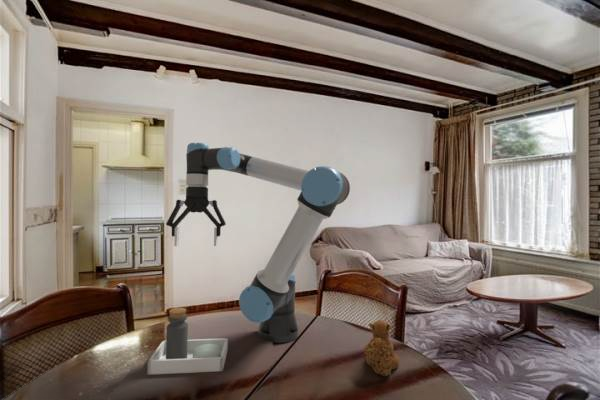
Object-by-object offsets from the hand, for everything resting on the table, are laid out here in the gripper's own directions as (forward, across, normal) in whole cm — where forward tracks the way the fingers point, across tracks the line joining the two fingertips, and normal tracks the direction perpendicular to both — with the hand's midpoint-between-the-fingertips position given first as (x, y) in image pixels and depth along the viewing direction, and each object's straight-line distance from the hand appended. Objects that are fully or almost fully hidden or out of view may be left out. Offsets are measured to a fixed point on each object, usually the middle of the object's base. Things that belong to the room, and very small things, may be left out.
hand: (196, 245), depth 111 cm
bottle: (+32, +1, +19) cm, 37 cm away
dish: (+31, -8, +19) cm, 38 cm away
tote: (+33, -3, +19) cm, 38 cm away
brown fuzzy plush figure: (+33, -59, +26) cm, 73 cm away
